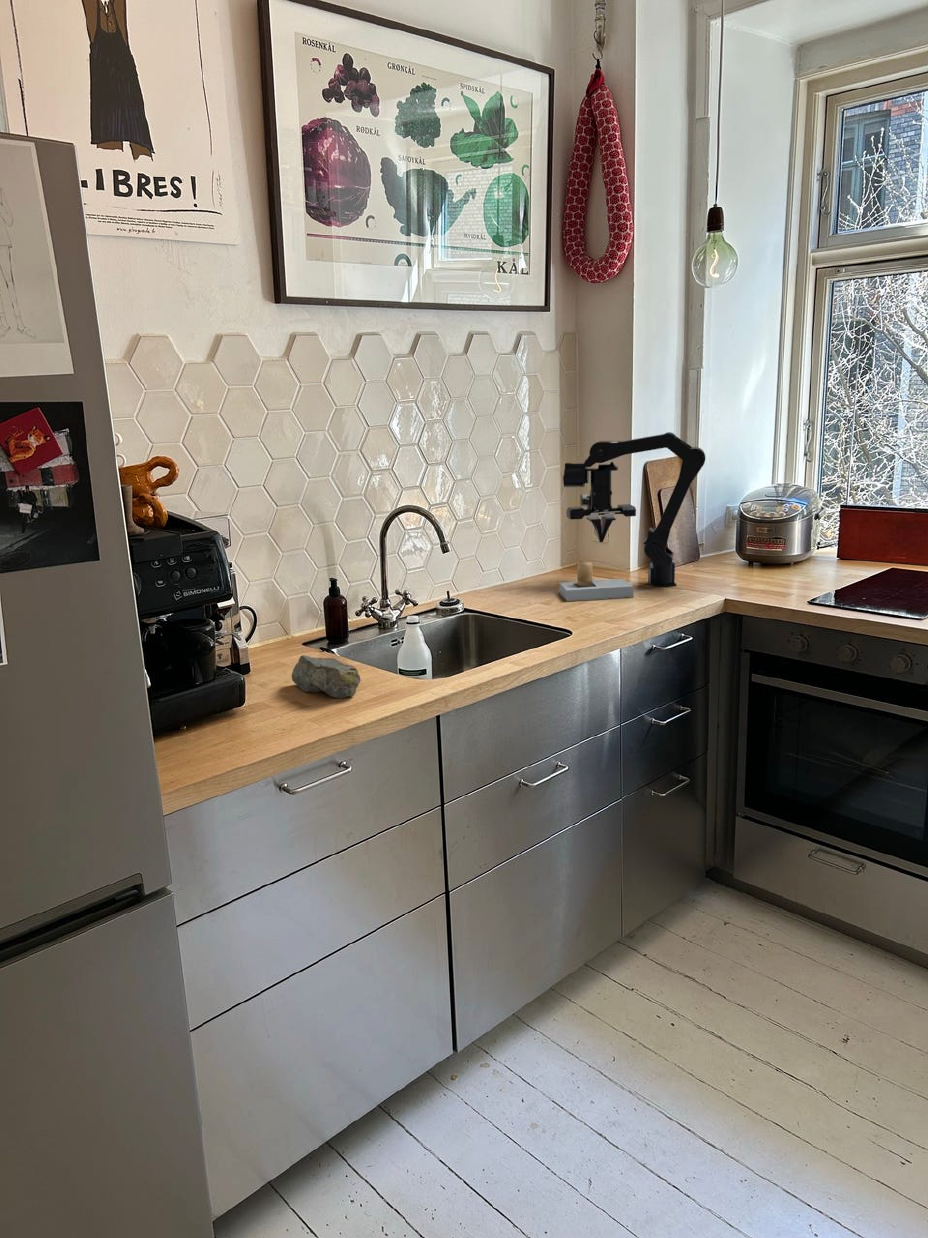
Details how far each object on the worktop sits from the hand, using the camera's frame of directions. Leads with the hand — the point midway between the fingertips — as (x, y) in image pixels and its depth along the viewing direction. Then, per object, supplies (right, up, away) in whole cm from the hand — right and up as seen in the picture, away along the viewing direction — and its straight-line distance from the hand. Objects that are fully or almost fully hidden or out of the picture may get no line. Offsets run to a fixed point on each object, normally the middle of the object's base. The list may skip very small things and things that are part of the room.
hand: (601, 542), depth 252 cm
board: (-3, -15, -11) cm, 19 cm away
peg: (-6, -16, -11) cm, 20 cm away
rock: (-65, -36, -80) cm, 109 cm away
